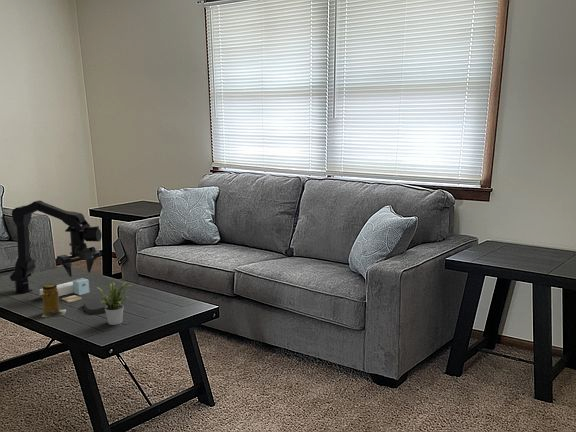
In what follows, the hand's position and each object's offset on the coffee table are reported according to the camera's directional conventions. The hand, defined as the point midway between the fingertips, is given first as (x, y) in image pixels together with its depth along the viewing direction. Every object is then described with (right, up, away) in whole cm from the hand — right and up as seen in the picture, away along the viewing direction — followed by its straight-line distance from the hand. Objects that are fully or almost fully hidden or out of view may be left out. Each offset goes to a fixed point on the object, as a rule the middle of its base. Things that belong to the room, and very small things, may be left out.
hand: (79, 274), depth 248 cm
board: (0, -10, -8) cm, 13 cm away
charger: (-1, -8, +2) cm, 9 cm away
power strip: (-9, -9, -2) cm, 13 cm away
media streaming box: (+17, -12, -18) cm, 28 cm away
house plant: (+29, -15, -37) cm, 49 cm away
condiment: (-1, -13, -26) cm, 29 cm away
